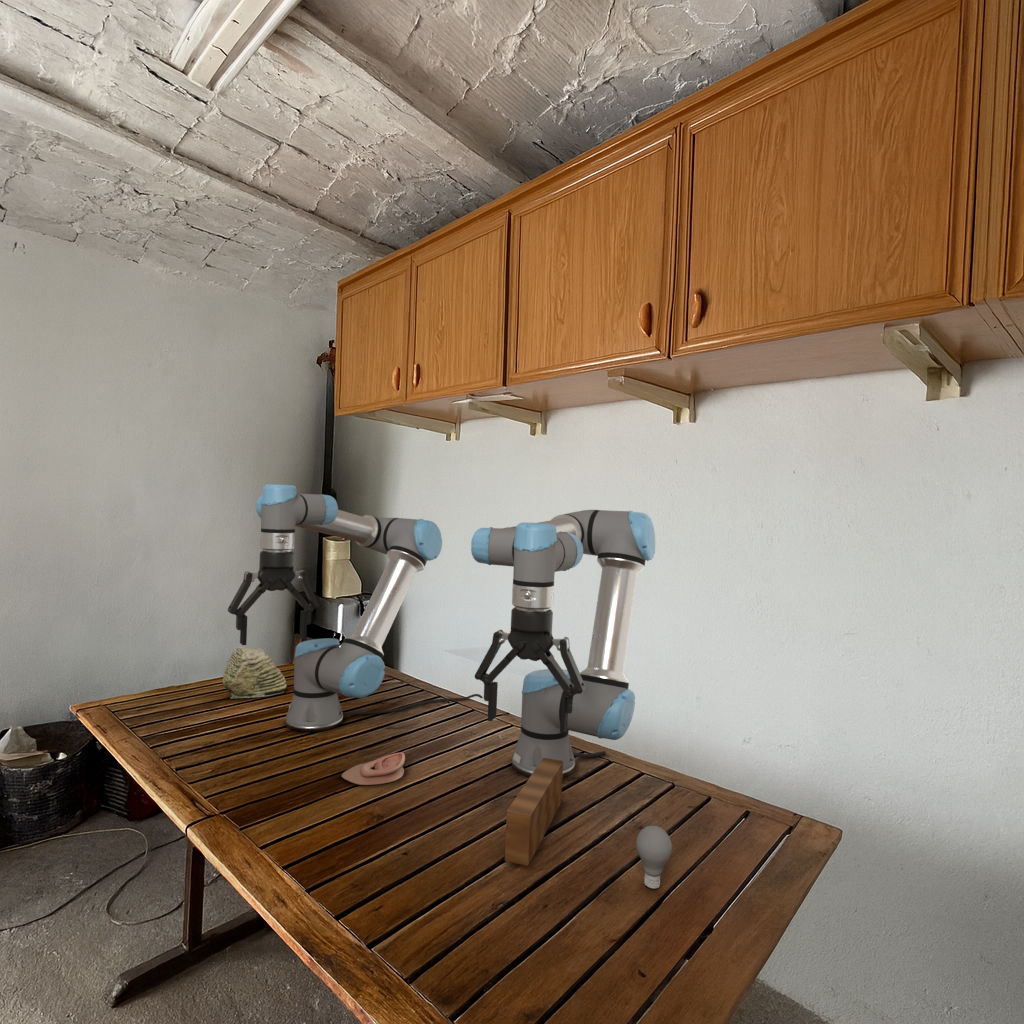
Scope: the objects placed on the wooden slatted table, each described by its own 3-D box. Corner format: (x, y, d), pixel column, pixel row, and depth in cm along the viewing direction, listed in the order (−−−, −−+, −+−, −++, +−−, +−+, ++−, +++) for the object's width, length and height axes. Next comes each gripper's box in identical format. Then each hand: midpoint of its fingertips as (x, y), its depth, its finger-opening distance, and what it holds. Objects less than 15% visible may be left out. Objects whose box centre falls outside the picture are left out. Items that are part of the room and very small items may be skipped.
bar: (541, 799, 137) (543, 757, 137) (561, 802, 136) (563, 760, 136) (504, 861, 113) (506, 810, 113) (528, 866, 112) (530, 815, 111)
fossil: (218, 695, 195) (220, 647, 195) (278, 685, 208) (279, 640, 207) (228, 703, 189) (230, 653, 188) (289, 692, 201) (290, 645, 201)
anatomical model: (335, 763, 141) (358, 744, 152) (334, 781, 141) (357, 761, 152) (391, 771, 138) (410, 751, 149) (391, 789, 138) (410, 768, 149)
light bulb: (629, 875, 110) (632, 818, 110) (663, 875, 110) (666, 818, 110) (639, 897, 104) (642, 837, 104) (675, 897, 104) (678, 837, 104)
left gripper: (223, 552, 137) (219, 650, 138) (334, 551, 152) (331, 639, 152) (215, 549, 143) (212, 643, 144) (323, 548, 158) (320, 633, 158)
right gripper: (460, 604, 115) (455, 720, 115) (596, 618, 107) (591, 742, 108) (475, 599, 122) (470, 708, 122) (604, 611, 114) (598, 728, 115)
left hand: (273, 641), depth 148 cm, fingers open, 13 cm apart
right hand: (527, 724), depth 115 cm, fingers open, 13 cm apart
